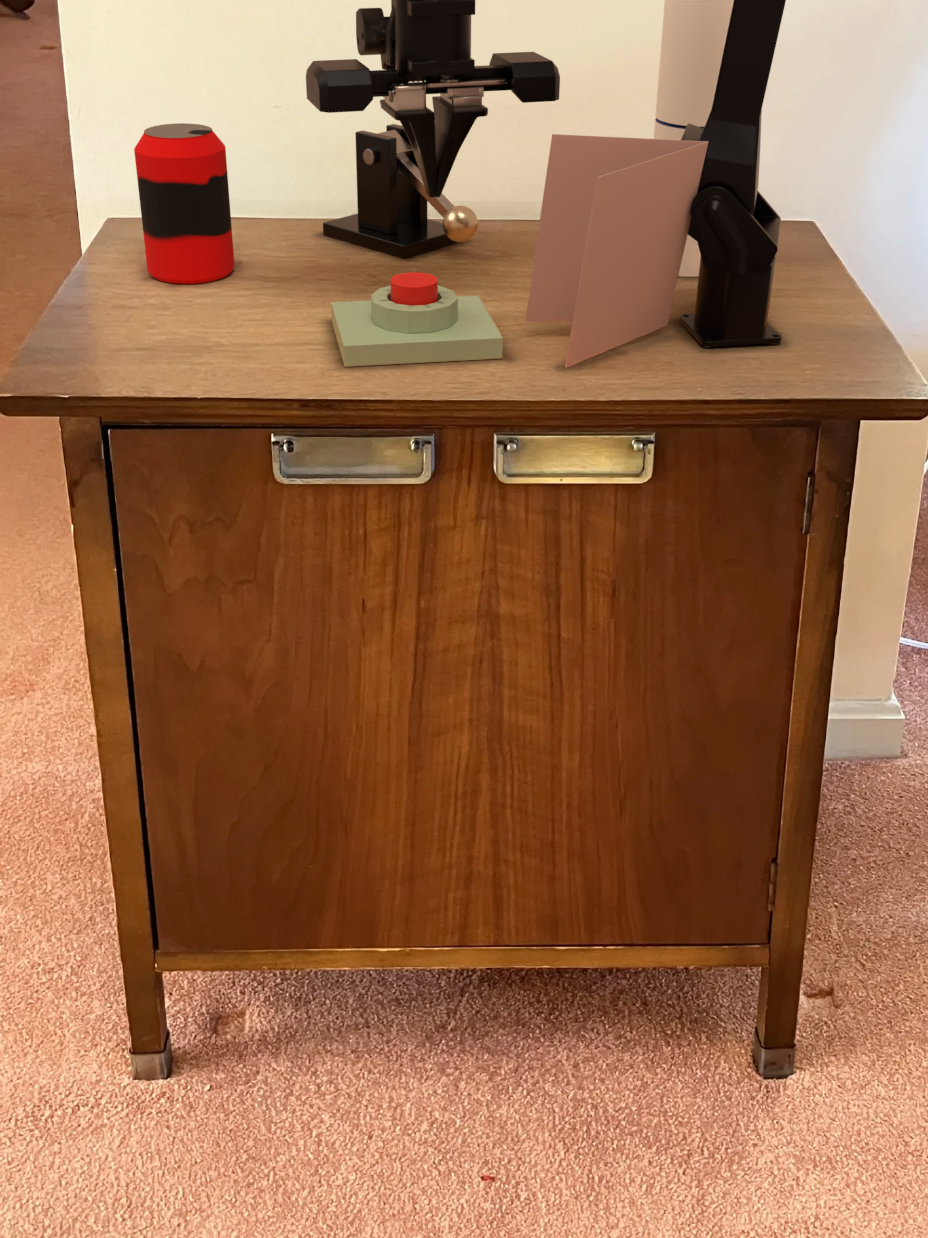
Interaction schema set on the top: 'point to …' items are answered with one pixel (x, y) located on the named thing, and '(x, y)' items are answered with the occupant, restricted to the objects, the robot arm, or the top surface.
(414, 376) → the top surface
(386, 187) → the switch bracket
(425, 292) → the button
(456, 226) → the lever
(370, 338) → the button housing
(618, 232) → the greeting card
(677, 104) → the cylindrical container
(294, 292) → the top surface
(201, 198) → the soda can
